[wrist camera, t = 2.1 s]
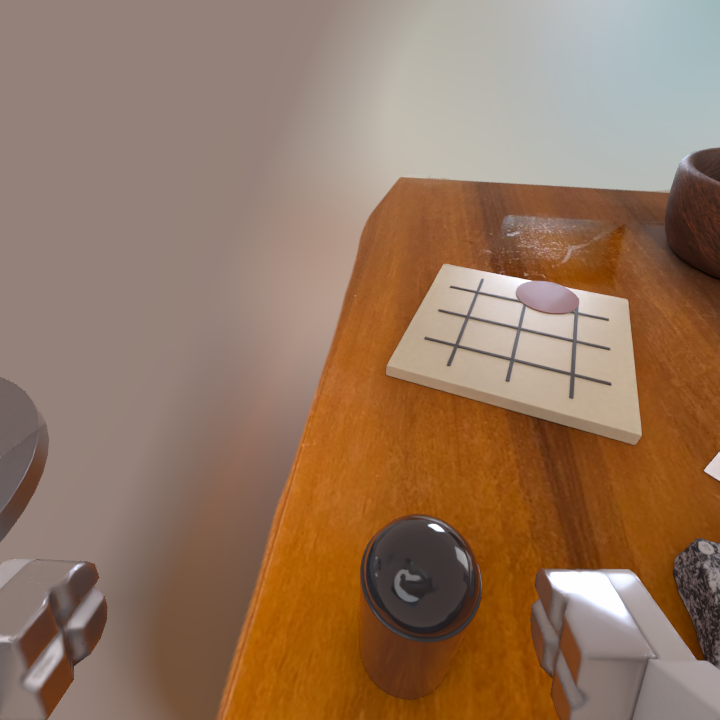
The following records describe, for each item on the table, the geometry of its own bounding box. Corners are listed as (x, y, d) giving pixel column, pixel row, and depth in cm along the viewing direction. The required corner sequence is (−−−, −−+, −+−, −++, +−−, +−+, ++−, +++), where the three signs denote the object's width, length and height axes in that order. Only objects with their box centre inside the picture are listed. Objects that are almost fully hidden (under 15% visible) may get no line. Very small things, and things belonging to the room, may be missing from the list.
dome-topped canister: (344, 672, 22) (339, 584, 15) (378, 580, 25) (386, 473, 18) (437, 719, 20) (479, 647, 13) (460, 615, 24) (503, 514, 17)
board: (385, 375, 38) (386, 364, 37) (442, 271, 52) (444, 261, 51) (635, 445, 32) (643, 434, 32) (623, 307, 47) (628, 297, 46)
